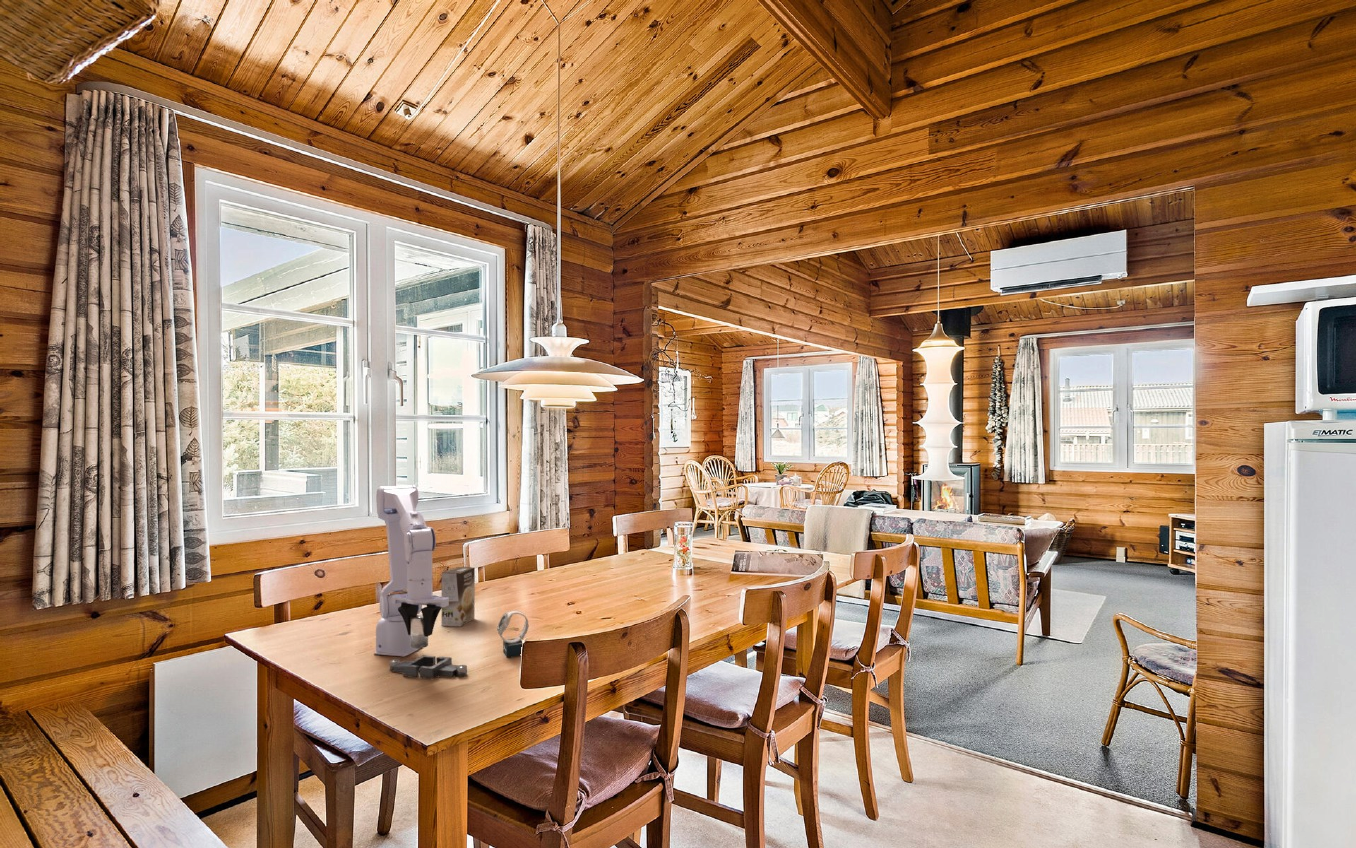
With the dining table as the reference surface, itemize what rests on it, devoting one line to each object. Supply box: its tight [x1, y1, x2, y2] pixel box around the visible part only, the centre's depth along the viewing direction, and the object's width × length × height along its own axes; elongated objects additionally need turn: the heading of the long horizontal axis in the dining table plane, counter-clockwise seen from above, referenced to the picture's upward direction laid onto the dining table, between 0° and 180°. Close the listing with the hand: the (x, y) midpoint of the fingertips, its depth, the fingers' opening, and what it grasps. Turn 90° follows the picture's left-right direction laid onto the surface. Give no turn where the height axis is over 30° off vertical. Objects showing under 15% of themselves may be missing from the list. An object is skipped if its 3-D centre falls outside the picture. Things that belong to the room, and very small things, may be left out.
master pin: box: [411, 614, 429, 650], centre depth 167 cm, size 4×4×7 cm
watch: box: [496, 610, 530, 659], centre depth 182 cm, size 6×8×11 cm
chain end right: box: [419, 656, 468, 680], centre depth 167 cm, size 10×8×2 cm
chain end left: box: [389, 654, 437, 678], centre depth 170 cm, size 10×8×2 cm
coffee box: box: [440, 566, 476, 627], centre depth 211 cm, size 9×6×16 cm
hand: (420, 634), depth 167 cm, fingers closed on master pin, 4 cm apart
